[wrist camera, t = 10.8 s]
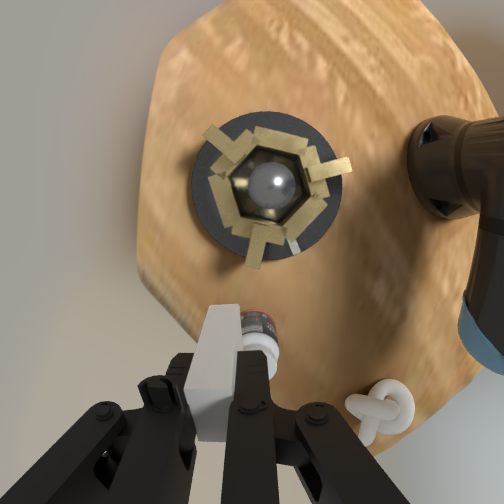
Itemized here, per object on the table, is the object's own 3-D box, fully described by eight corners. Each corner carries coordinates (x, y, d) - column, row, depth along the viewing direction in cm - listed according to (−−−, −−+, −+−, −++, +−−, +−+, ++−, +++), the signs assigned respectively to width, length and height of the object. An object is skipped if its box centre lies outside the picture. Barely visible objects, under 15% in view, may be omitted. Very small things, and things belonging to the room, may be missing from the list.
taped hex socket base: (212, 122, 31) (207, 113, 26) (343, 154, 32) (356, 150, 27) (187, 242, 34) (178, 251, 30) (314, 270, 35) (323, 282, 31)
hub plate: (319, 103, 32) (322, 99, 30) (350, 238, 36) (354, 241, 34) (179, 135, 33) (175, 133, 31) (215, 271, 37) (213, 275, 35)
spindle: (281, 163, 34) (289, 157, 26) (289, 199, 35) (300, 203, 28) (244, 171, 34) (242, 168, 27) (253, 207, 35) (254, 214, 28)
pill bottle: (278, 339, 39) (286, 382, 30) (240, 347, 40) (237, 392, 30) (269, 303, 38) (275, 342, 28) (228, 313, 38) (222, 353, 29)
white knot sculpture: (399, 358, 41) (423, 389, 32) (403, 401, 43) (422, 431, 35) (338, 385, 42) (353, 422, 33) (350, 424, 44) (362, 458, 36)
